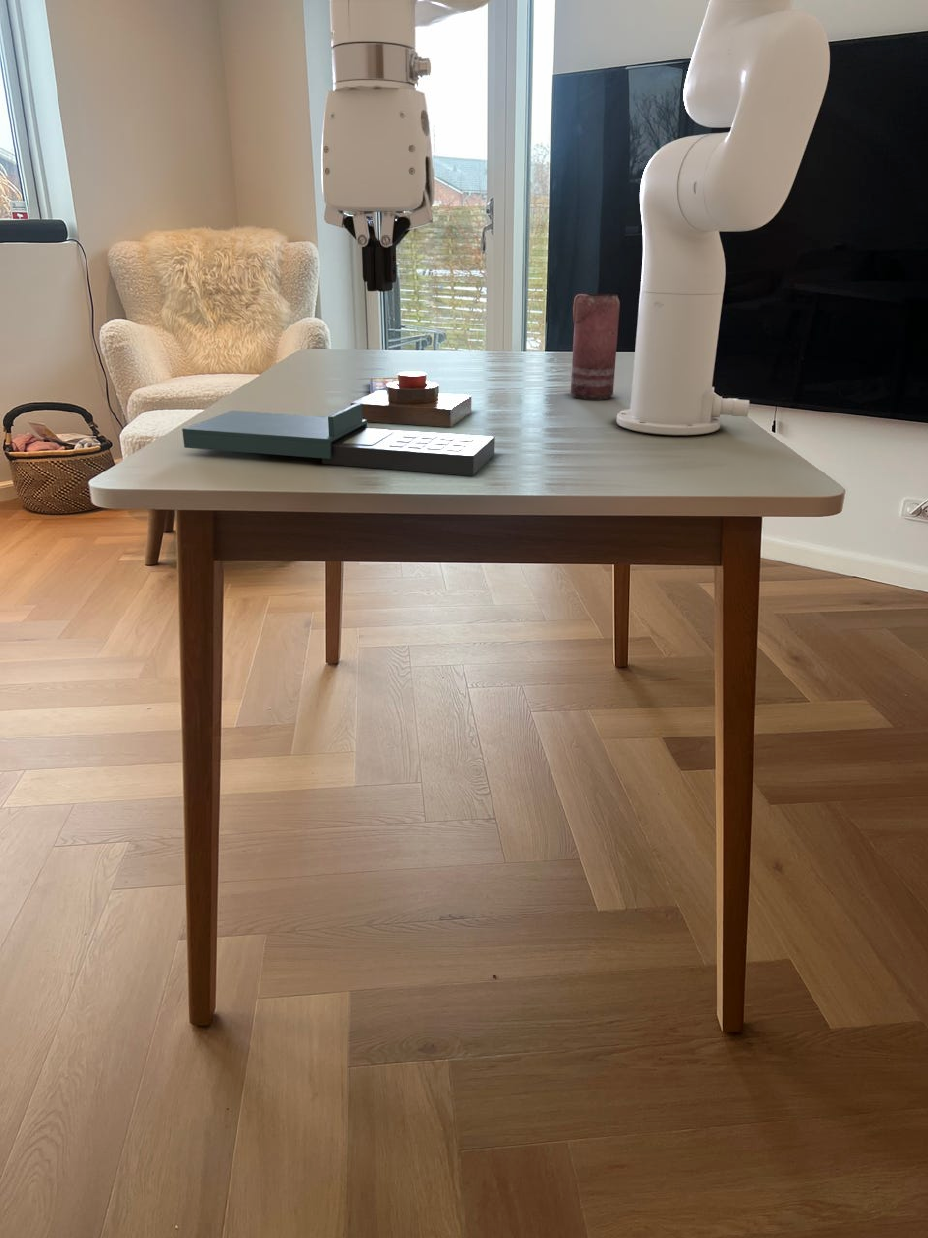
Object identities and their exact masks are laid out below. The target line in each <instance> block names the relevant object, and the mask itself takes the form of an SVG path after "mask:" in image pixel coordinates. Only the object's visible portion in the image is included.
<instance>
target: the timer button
mask: <svg viewBox="0 0 928 1238" xmlns="http://www.w3.org/2000/svg"><path fill="white" fill-rule="evenodd" d="M397 378H398V386H399V387H408V388H416V387H426V381H427V373H426V372H424V371H423V372H422V371H402V372H399V373H397Z"/></svg>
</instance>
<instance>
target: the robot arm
mask: <svg viewBox="0 0 928 1238" xmlns="http://www.w3.org/2000/svg"><path fill="white" fill-rule="evenodd" d="M491 1H492V0H329V15H330V16H329V19H330V21H329V22H330V45H331V65H332V68H331V69H332V89H333V90H327V92H326V98H325V105H324V112H323V122H322V132H321V161H320V162H321V192H322V199H323V202H324V204H325V208H324V214H323V220H324V222H325V223H327V224H329V225H332V226H335V227H339V228H343V229H345V230H347V232H349V234H350V235H351V236H352V237H353V238H354V239H355V240H356V243H357V245H358V246H359V247H361V260H362V261H361V262H362V263H361V266H362V279H363V282H364V283H366V291H367V292H378V293H379V292H380V293H384V292H391V291H392V290H393V288H394V283H396V282H397V278H398V276H397V275H398V272H397V271H398V269H397V247H399V246H400V244H401V242H402V240H403V239H404V238H405V237H406V236H407V235H408V234H409V232H410V231H411V230H414V229H418V228H422V227H425V226H429V225H431V224H432V223H433V222H434V215H433V211H432V207H433V205H434V203H435V191H436V190H435V189H436V187H435V170H434V167H435V166H434V155H433V142H432V141H433V140H432V131H431V123H430V116H429V115H430V114H429V108H428V104H427V103H428V102H427V98H426V93H425V92H422V91H420V90H417V87H418V86H419V80H420V79H421V78H423V77H427V76H431V73H432V64H431V59H430V57H422V56H419V53H418V52H416V29H421V30H434V29H437V28H440V27H442V26H444V25H446V24H448V23H450V22H453V21H455V20H458V19H460V18H461V17H462V18H463V17H464V16H467V15H469V14H472V13H474V12H476V11H478V10H479V9H481V8H483V7H485V6H486V5H488V4H489V3H490V2H491ZM793 3H794V0H709V2H708V5H707V8H706V11H705V15H704V17H703V20H702V21H703V22H702V24H701V27H700V30H699V33H698V37H697V40H696V43H695V46H694V49H693V53H692V57H691V58H690V59H691V60H690V63H689V66H688V68H687V69H688V71H687V73H686V78H685V81H684V86H683V87H684V88H683V102H684V106H685V110H686V113H687V114H688V116H689V117H690V119H692V120H693V121H694V122H695V123H697V124H698V125H701V126H703V127H707V128H730V130H729V131H727V132H712V133H705V134H704V133H703V134H697V135H696V134H695V135H690V136H684V137H681V138H678V139H675V140H673V141H670V142H668V143H666V144H665V145H663V146H661V148H660V149H658V150H657V151H656V152H655V153H654V154H653V155H652V157H651V158H650V159H649V160H648V163H647V165H646V167H645V168H644V171H643V174H642V178H641V182H640V190H639V191H640V192H639V204H640V215H641V217H640V218H641V225H642V265H641V279H640V280H641V281H640V291H639V299H638V301H639V302H638V312H637V323H636V324H637V326H636V337H635V349H634V350H635V351H634V358H633V359H634V360H633V372H632V383H631V394H630V395H631V396H630V405H629V408H627V409H623V410H620V411H619V412H618V413H616V424H617V425H618V426H619V427H621V428H624V429H626V430H630V431H635V432H640V433H645V434H652V435H662V436H663V435H665V436H697V435H704V434H710V433H714V432H716V431H718V430H719V429H720V428H721V423H722V422H721V421H722V420H721V417H720V416H721V415H726V416H732V417H745V418H747V417H748V415H749V408H750V399H739V398H735V397H734V398H732V397H728V398H723V396H722V395H721V396H719V395H715V386H713V381H714V373H715V363H716V357H717V349H718V348H717V347H718V340H719V331H720V324H721V315H722V308H723V300H724V293H725V285H726V275H727V274H726V271H727V270H726V268H727V267H726V257H725V252H724V247H723V243H722V239H721V235H720V232H749V231H753V230H756V229H759V228H761V227H763V226H764V225H767V224H768V223H769V222H770V221H772V219H774V218H775V216H777V214H778V213H779V212H780V211H781V209H782V207H783V205H784V204H785V202H786V200H787V199H788V196H789V194H790V192H791V189H792V186H793V184H794V181H795V179H796V176H797V173H798V170H799V168H800V165H801V163H802V159H803V156H804V154H805V151H806V149H807V145H808V142H809V140H810V137H811V134H812V131H813V128H814V125H815V123H816V120H817V117H818V114H819V111H820V108H821V106H822V103H823V99H824V96H825V93H826V90H827V87H828V81H829V75H830V70H831V69H830V66H831V53H830V52H831V51H830V44H829V39H828V35H827V33H826V31H825V29H824V27H823V25H822V23H821V22H820V21H819V20H818V19H817V18H816V17H815V16H814V15H812V14H811V13H809V12H806V11H803V10H799V9H798V10H797V9H792V7H793ZM346 212H351V214H348V213H346ZM375 213H382V215H381V224H380V235H379V238H378V232H377V226H376V219H375ZM405 213H410V214H407V215H404V214H405Z"/></svg>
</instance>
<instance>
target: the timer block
mask: <svg viewBox="0 0 928 1238" xmlns="http://www.w3.org/2000/svg"><path fill="white" fill-rule="evenodd" d="M439 389H440V385H439V384H438V383H436V382H431V381H427V380H426V387H416V388H408V387H399V386H398V382H391V383H389V384H386V391H382V390H378V391H376V392H374V393H372V394H371V393H369V394H367V395H365V396H363V397H360V398H358V399H356V400H354V401H352V402H350V406H352V405H354V404H356V403H362V417H363V419H367V423H378V424H379V423H380V424H395V425H409V426H410V425H412V426H424V427H425V426H426V427H428V426H429V427H441V428H451V427H453V426H454V425H455V424H457V423H458V422H460V421H461V420H463V419H464V418H465V417H467V416H469V415H470V414H471V413H472V395H469V394H468V395H467V394H451V393H439V392H440V391H439Z"/></svg>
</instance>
